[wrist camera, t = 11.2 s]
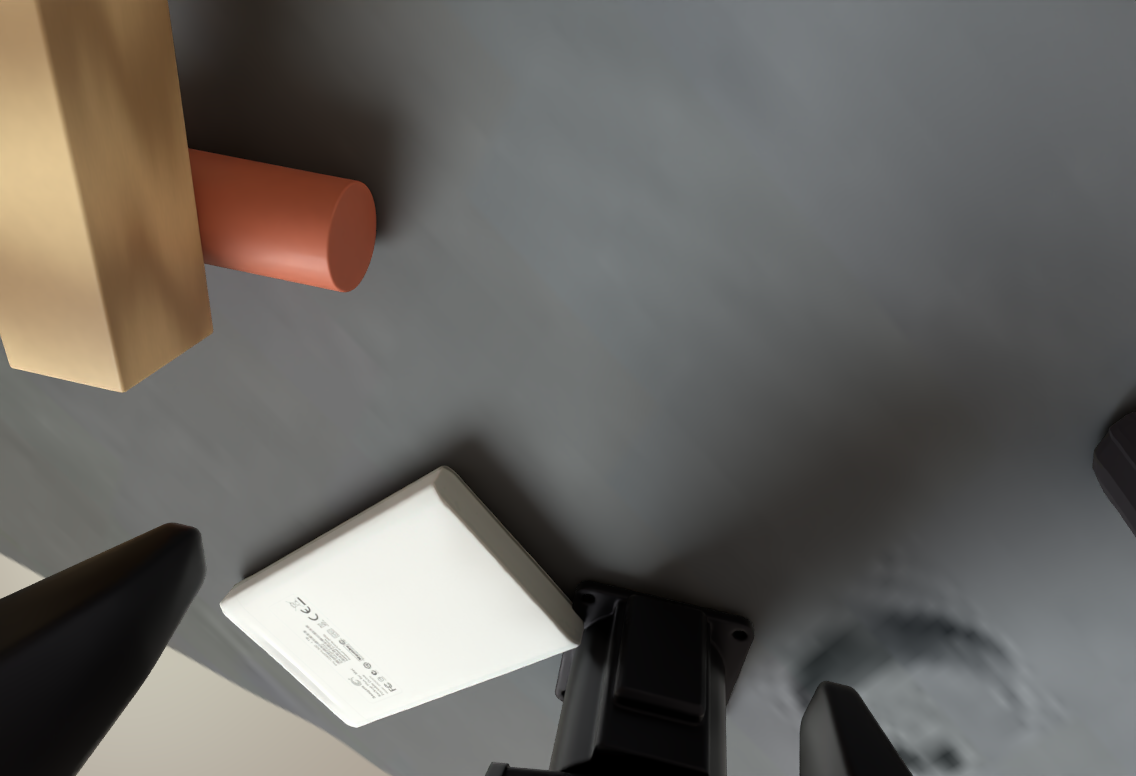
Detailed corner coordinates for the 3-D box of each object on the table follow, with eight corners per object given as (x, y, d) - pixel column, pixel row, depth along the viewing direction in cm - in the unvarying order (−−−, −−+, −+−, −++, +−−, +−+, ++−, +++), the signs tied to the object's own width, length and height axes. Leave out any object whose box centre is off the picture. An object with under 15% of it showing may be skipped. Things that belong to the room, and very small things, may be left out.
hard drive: (587, 616, 26) (369, 702, 32) (447, 458, 24) (237, 580, 29) (579, 651, 25) (353, 735, 30) (429, 487, 22) (212, 609, 28)
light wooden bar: (215, 333, 19) (123, 394, 16) (115, 311, 20) (8, 368, 17) (107, -456, 12) (-99, -607, 9) (-52, -472, 12) (-305, -627, 9)
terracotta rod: (377, 270, 21) (330, 309, 18) (73, 208, 22) (-12, 237, 19) (376, 170, 19) (325, 197, 17) (50, 108, 20) (-46, 124, 18)
